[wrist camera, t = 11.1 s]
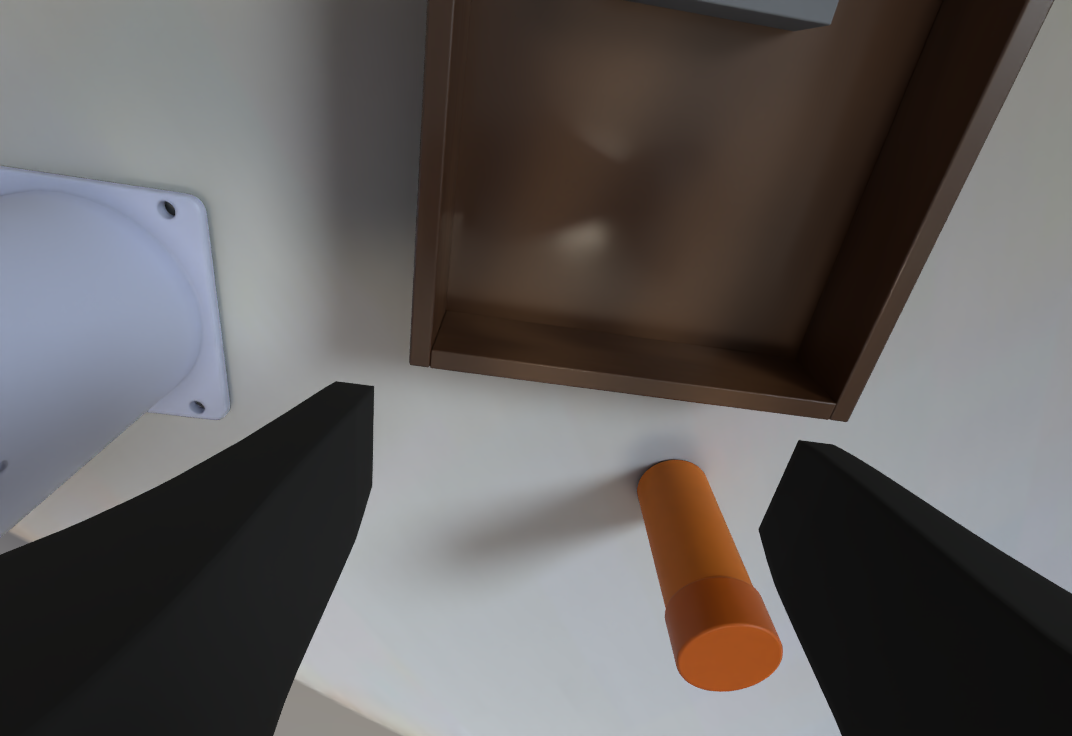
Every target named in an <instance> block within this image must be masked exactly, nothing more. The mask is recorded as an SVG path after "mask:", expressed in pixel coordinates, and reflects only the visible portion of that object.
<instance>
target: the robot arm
mask: <svg viewBox="0 0 1072 736" xmlns="http://www.w3.org/2000/svg"><path fill="white" fill-rule="evenodd" d="M165 202H169V203H170V204H171V205H172V206H173V207H174V209H175V211H176V213H175V216H174V215H171V214H170V213H169V212H168V211H167V210H166V208H165ZM196 401H198V402H200V403H201V404H203V405H204V408H203V407H200V406H199V405H197V403H196ZM230 406H231V405H230V397H229V389H228V381H227V373H226V364H225V356H224V348H223V340H222V332H221V324H220V316H219V307H218V299H217V291H216V283H215V275H214V267H213V258H212V250H211V242H210V234H209V226H208V218H207V211H206V208H205V206H204V204H203V203H202V202H201V200H200V199H198V198H197V197H196V196H194V195H191V194H188V193H181V192H175V191H168V190H161V189H154V188H148V187H141V186H134V185H127V184H121V183H114V182H107V181H101V180H94V179H87V178H80V177H74V176H67V175H60V174H53V173H47V172H40V171H33V170H26V169H20V168H13V167H6V166H0V538H1V537H2V536H3V535H4V534H5V533H7V532H8V531H9V530H10V529H11V528H12V527H14V526H15V525H16V524H17V523H18V522H19V521H21V520H22V519H23V518H24V517H25V516H26V515H27V514H29V513H30V512H31V511H32V510H33V509H34V508H36V507H37V506H38V505H39V504H40V503H41V502H42V501H44V500H45V499H46V498H47V497H48V496H49V495H51V494H52V493H53V492H54V491H55V490H56V489H58V488H59V487H60V486H61V485H62V484H63V483H64V482H66V481H67V480H68V479H69V478H70V477H71V476H73V475H74V474H75V473H76V472H77V471H78V470H80V469H81V468H82V467H83V466H84V465H85V464H86V463H88V462H89V461H90V460H91V459H92V458H93V457H95V456H96V455H97V454H98V453H99V452H100V451H101V450H103V449H104V448H105V447H106V446H107V445H108V444H110V443H111V442H112V441H113V440H114V439H115V438H117V437H118V436H119V435H120V434H121V433H122V432H123V431H125V430H126V429H127V428H128V427H129V426H130V425H132V424H133V423H134V422H135V421H136V420H137V419H139V418H140V417H141V416H142V415H143V414H144V413H145V412H151V413H160V414H168V415H176V416H185V417H193V418H201V419H210V420H220V419H222V418H224V417H225V416H226V414H227V413H228V412H229V411H230ZM373 415H374V386H368V385H361V384H353V383H345V382H337V381H336V382H334V383H332V384H331V385H329V386H327V387H325V388H324V389H322V390H321V391H319V392H317V393H316V394H314V395H313V396H311V397H310V398H308V399H306V400H305V401H303V402H302V403H300V404H299V405H297V406H296V407H294V408H292V409H291V410H289V411H288V412H286V413H285V414H283V415H281V416H280V417H278V418H277V419H275V420H273V421H272V422H270V423H269V424H267V425H265V426H264V427H262V428H260V429H259V430H257V431H256V432H254V433H252V434H251V435H249V436H248V437H246V438H244V439H243V440H241V441H239V442H238V443H236V444H234V445H232V446H230V447H229V448H227V449H225V450H223V451H221V452H220V453H218V454H216V455H214V456H212V457H211V458H209V459H207V460H205V461H203V462H202V463H200V464H198V465H196V466H194V467H193V468H191V469H189V470H187V471H185V472H184V473H182V474H180V475H178V476H177V477H175V478H173V479H171V480H169V481H167V482H165V483H163V484H161V485H159V486H157V487H155V488H153V489H151V490H149V491H147V492H145V493H143V494H141V495H139V496H137V497H135V498H133V499H131V500H128V501H126V502H124V503H122V504H120V505H117V506H115V507H113V508H111V509H109V510H107V511H104V512H102V513H100V514H98V515H96V516H93V517H91V518H89V519H87V520H85V521H82V522H80V523H78V524H76V525H73V526H71V527H69V528H66V529H64V530H61V531H59V532H56V533H54V534H51V535H49V536H46V537H44V538H41V539H39V540H36V541H34V542H31V543H29V544H26V545H24V546H21V547H19V548H16V549H14V550H11V551H8V552H6V553H4V554H1V555H0V736H273V735H274V732H275V729H276V726H277V722H278V720H279V717H280V714H281V711H282V708H283V706H284V703H285V700H286V698H287V695H288V693H289V690H290V688H291V685H292V683H293V680H294V678H295V675H296V673H297V670H298V668H299V666H300V664H301V661H302V659H303V657H304V655H305V653H306V650H307V648H308V646H309V644H310V641H311V639H312V637H313V635H314V632H315V630H316V628H317V626H318V624H319V621H320V619H321V617H322V615H323V612H324V610H325V608H326V606H327V603H328V601H329V599H330V597H331V595H332V592H333V590H334V588H335V586H336V583H337V581H338V579H339V577H340V574H341V572H342V570H343V568H344V565H345V563H346V561H347V558H348V556H349V554H350V552H351V549H352V547H353V545H354V542H355V540H356V537H357V534H358V531H359V528H360V524H361V521H362V518H363V515H364V512H365V508H366V505H367V501H368V498H369V495H370V491H371V488H372V471H373ZM759 533H760V537H761V540H762V544H763V548H764V551H765V555H766V559H767V562H768V565H769V568H770V572H771V575H772V578H773V581H774V584H775V587H776V589H777V591H778V594H779V596H780V598H781V601H782V603H783V605H784V607H785V610H786V612H787V614H788V616H789V619H790V621H791V623H792V625H793V628H794V630H795V632H796V634H797V637H798V639H799V641H800V643H801V645H802V648H803V650H804V652H805V654H806V656H807V658H808V661H809V663H810V665H811V667H812V669H813V672H814V674H815V676H816V678H817V680H818V683H819V685H820V687H821V689H822V691H823V694H824V696H825V698H826V700H827V702H828V705H829V707H830V709H831V711H832V713H833V716H834V718H835V720H836V723H837V725H838V727H839V730H840V732H841V735H842V736H1072V593H1070V592H1068V591H1066V590H1065V589H1063V588H1061V587H1059V586H1058V585H1056V584H1054V583H1053V582H1051V581H1049V580H1048V579H1046V578H1045V577H1043V576H1041V575H1040V574H1038V573H1036V572H1035V571H1033V570H1031V569H1030V568H1028V567H1027V566H1025V565H1023V564H1022V563H1020V562H1018V561H1017V560H1015V559H1013V558H1012V557H1010V556H1009V555H1007V554H1005V553H1004V552H1002V551H1000V550H999V549H997V548H996V547H994V546H993V545H991V544H989V543H988V542H986V541H985V540H983V539H982V538H980V537H978V536H977V535H975V534H974V533H972V532H971V531H969V530H968V529H966V528H965V527H963V526H961V525H960V524H958V523H957V522H955V521H954V520H952V519H951V518H949V517H948V516H946V515H945V514H943V513H942V512H940V511H939V510H937V509H936V508H934V507H933V506H931V505H930V504H928V503H926V502H925V501H923V500H922V499H920V498H919V497H917V496H916V495H914V494H913V493H911V492H910V491H908V490H907V489H905V488H904V487H902V486H901V485H899V484H898V483H896V482H895V481H893V480H892V479H890V478H889V477H887V476H885V475H884V474H882V473H881V472H879V471H878V470H876V469H874V468H873V467H871V466H870V465H868V464H866V463H865V462H863V461H862V460H860V459H858V458H857V457H855V456H853V455H851V454H850V453H848V452H846V451H844V450H842V449H840V448H838V447H837V446H835V445H832V444H824V443H817V442H809V441H801V440H799V441H798V443H797V445H796V447H795V449H794V452H793V454H792V456H791V458H790V461H789V463H788V465H787V467H786V469H785V472H784V474H783V476H782V478H781V481H780V483H779V485H778V487H777V489H776V492H775V494H774V496H773V498H772V501H771V503H770V505H769V507H768V509H767V512H766V514H765V516H764V518H763V521H762V523H761V525H760V527H759Z"/></svg>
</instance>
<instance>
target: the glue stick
mask: <svg viewBox="0 0 1072 736" xmlns="http://www.w3.org/2000/svg"><path fill="white" fill-rule="evenodd" d="M637 494H638V499H639V503H640V507H641V511H642V515H643V519H644V523H645V527H646V531H647V535H648V539H649V543H650V547H651V551H652V555H653V559H654V563H655V567H656V571H657V575H658V579H659V583H660V587H661V591H662V595H663V599H664V603H665V607H666V611H665V621H666V625H667V629H668V633H669V637H670V642H671V646H672V650H673V654H674V658H675V662H676V666H677V669H678V671H679V673H680V675H681V676H682V677H683V678H684V679H685V680H686V681H687V682H688V683H690V684H691V685H693V686H695V687H698V688H701V689H704V690H709V691H720V692H721V691H734V690H740V689H743V688H747V687H750V686H753V685H755V684H757V683H759V682H761V681H763V680H764V679H766V678H767V677H769V676H770V675H771V674H772V673H773V672H774V671H775V670H776V669H777V667H778V666H779V664H780V662H781V660H782V654H783V648H782V644H781V641H780V639H779V636H778V634H777V632H776V630H775V627H774V625H773V623H772V620H771V618H770V616H769V614H768V611H767V609H766V607H765V604H764V602H763V600H762V598H761V595H760V594H759V592H758V591H757V590H756V589H755V588H754V587H753V585H752V583H751V581H750V578H749V576H748V574H747V571H746V569H745V567H744V564H743V562H742V560H741V557H740V555H739V553H738V550H737V548H736V546H735V543H734V541H733V539H732V536H731V534H730V532H729V529H728V527H727V525H726V522H725V520H724V518H723V515H722V513H721V511H720V508H719V506H718V504H717V501H716V499H715V497H714V494H713V492H712V490H711V488H710V485H709V483H708V481H707V478H706V476H705V474H704V472H703V471H702V470H701V469H700V468H699V467H698V466H696V465H694V464H693V463H690V462H688V461H683V460H668V461H664V462H661V463H658V464H656V465H654V466H652V467H651V468H650V469H648V470H647V471H646V472H645V473H644V474H643V476H642V477H641V479H640V481H639V483H638V487H637Z"/></svg>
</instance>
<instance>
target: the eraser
mask: <svg viewBox="0 0 1072 736" xmlns="http://www.w3.org/2000/svg"><path fill="white" fill-rule="evenodd" d="M625 1H631V2H636V3H642V4H647V5H653V6H658V7H664V8H669V9H674V10H680V11H685V12H691V13H696V14H702V15H707V16H713V17H718V18H724V19H729V20H735V21H740V22H745V23H751V24H756V25H762V26H767V27H773V28H778V29H784V30H789V31H799V30H805V29H811V28H816V27H822V26H828V25H830V24H831V22H832V19H833V16H834V13H835V10H836V7H837V4H838V1H839V0H625Z"/></svg>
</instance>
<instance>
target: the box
mask: <svg viewBox="0 0 1072 736" xmlns="http://www.w3.org/2000/svg"><path fill="white" fill-rule="evenodd" d="M1053 2H1054V0H839V1H838V4H837V7H836V10H835V13H834V16H833V19H832V22H831V24H830V25H828V26H822V27H816V28H811V29H805V30H799V31H789V30H784V29H778V28H773V27H767V26H762V25H756V24H751V23H745V22H740V21H735V20H729V19H724V18H718V17H713V16H707V15H702V14H696V13H691V12H685V11H680V10H674V9H669V8H664V7H658V6H653V5H647V4H642V3H636V2H631V1H625V0H428V1H427V21H426V40H425V60H424V80H423V100H422V120H421V139H420V159H419V179H418V199H417V218H416V238H415V258H414V278H413V298H412V317H411V337H410V357H409V363H410V365H415V366H422V367H429V366H430V367H431V368H435V369H443V370H451V371H458V372H466V373H474V374H481V375H489V376H497V377H504V378H512V379H520V380H527V381H535V382H543V383H550V384H558V385H566V386H573V387H581V388H589V389H596V390H604V391H612V392H619V393H627V394H635V395H642V396H650V397H658V398H665V399H673V400H681V401H688V402H696V403H704V404H711V405H719V406H727V407H734V408H742V409H750V410H757V411H765V412H772V413H780V414H788V415H795V416H803V417H811V418H818V419H826V420H828V419H830V420H835V421H843V422H847V421H848V420H849V418H850V416H851V414H852V412H853V410H854V408H855V406H856V404H857V402H858V399H859V397H860V395H861V393H862V391H863V389H864V387H865V385H866V383H867V381H868V379H869V377H870V375H871V373H872V371H873V369H874V367H875V365H876V363H877V361H878V359H879V357H880V355H881V353H882V351H883V349H884V346H885V344H886V342H887V340H888V338H889V336H890V334H891V332H892V330H893V328H894V326H895V324H896V322H897V320H898V318H899V316H900V314H901V312H902V310H903V308H904V306H905V304H906V302H907V300H908V298H909V296H910V293H911V291H912V289H913V287H914V285H915V283H916V281H917V279H918V277H919V275H920V273H921V271H922V269H923V267H924V265H925V263H926V261H927V259H928V257H929V255H930V253H931V251H932V249H933V247H934V245H935V242H936V240H937V238H938V236H939V234H940V232H941V230H942V228H943V226H944V224H945V222H946V220H947V218H948V216H949V214H950V212H951V210H952V208H953V206H954V204H955V202H956V200H957V198H958V196H959V194H960V192H961V189H962V187H963V185H964V183H965V181H966V179H967V177H968V175H969V173H970V171H971V169H972V167H973V165H974V163H975V161H976V159H977V157H978V155H979V153H980V151H981V149H982V147H983V145H984V143H985V141H986V139H987V136H988V134H989V132H990V130H991V128H992V126H993V124H994V122H995V120H996V118H997V116H998V114H999V112H1000V110H1001V108H1002V106H1003V104H1004V102H1005V100H1006V98H1007V96H1008V94H1009V92H1010V90H1011V88H1012V85H1013V83H1014V81H1015V79H1016V77H1017V75H1018V73H1019V71H1020V69H1021V67H1022V65H1023V63H1024V61H1025V59H1026V57H1027V55H1028V53H1029V51H1030V49H1031V47H1032V45H1033V43H1034V41H1035V39H1036V37H1037V35H1038V32H1039V30H1040V28H1041V26H1042V24H1043V22H1044V20H1045V18H1046V16H1047V14H1048V12H1049V10H1050V8H1051V6H1052V4H1053Z"/></svg>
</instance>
